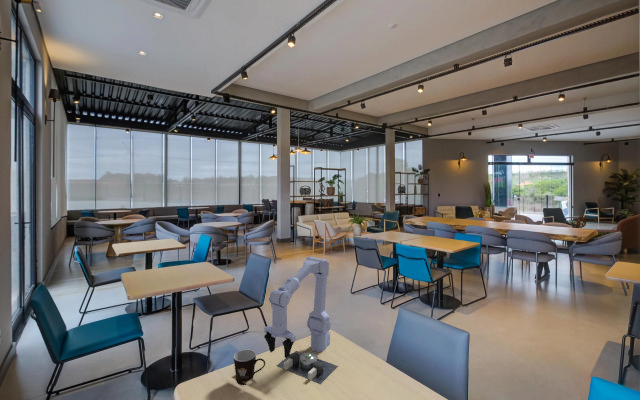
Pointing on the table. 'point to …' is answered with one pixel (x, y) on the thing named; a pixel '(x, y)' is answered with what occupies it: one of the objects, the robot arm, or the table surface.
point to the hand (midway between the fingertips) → (279, 353)
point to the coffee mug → (245, 365)
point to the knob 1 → (291, 361)
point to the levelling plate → (305, 372)
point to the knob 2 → (315, 370)
